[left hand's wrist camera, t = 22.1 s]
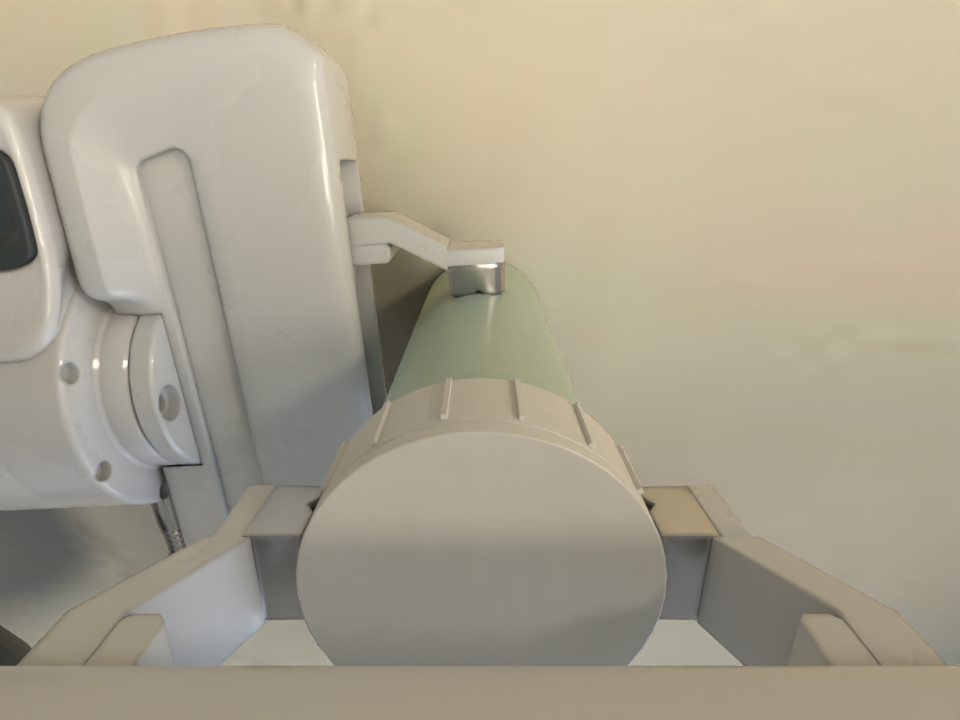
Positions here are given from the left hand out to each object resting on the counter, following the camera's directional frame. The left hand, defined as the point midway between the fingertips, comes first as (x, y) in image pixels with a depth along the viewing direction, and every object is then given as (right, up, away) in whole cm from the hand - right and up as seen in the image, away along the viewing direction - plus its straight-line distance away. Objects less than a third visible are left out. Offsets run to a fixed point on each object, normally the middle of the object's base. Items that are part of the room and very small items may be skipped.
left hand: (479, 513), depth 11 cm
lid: (0, -1, -2) cm, 2 cm away
